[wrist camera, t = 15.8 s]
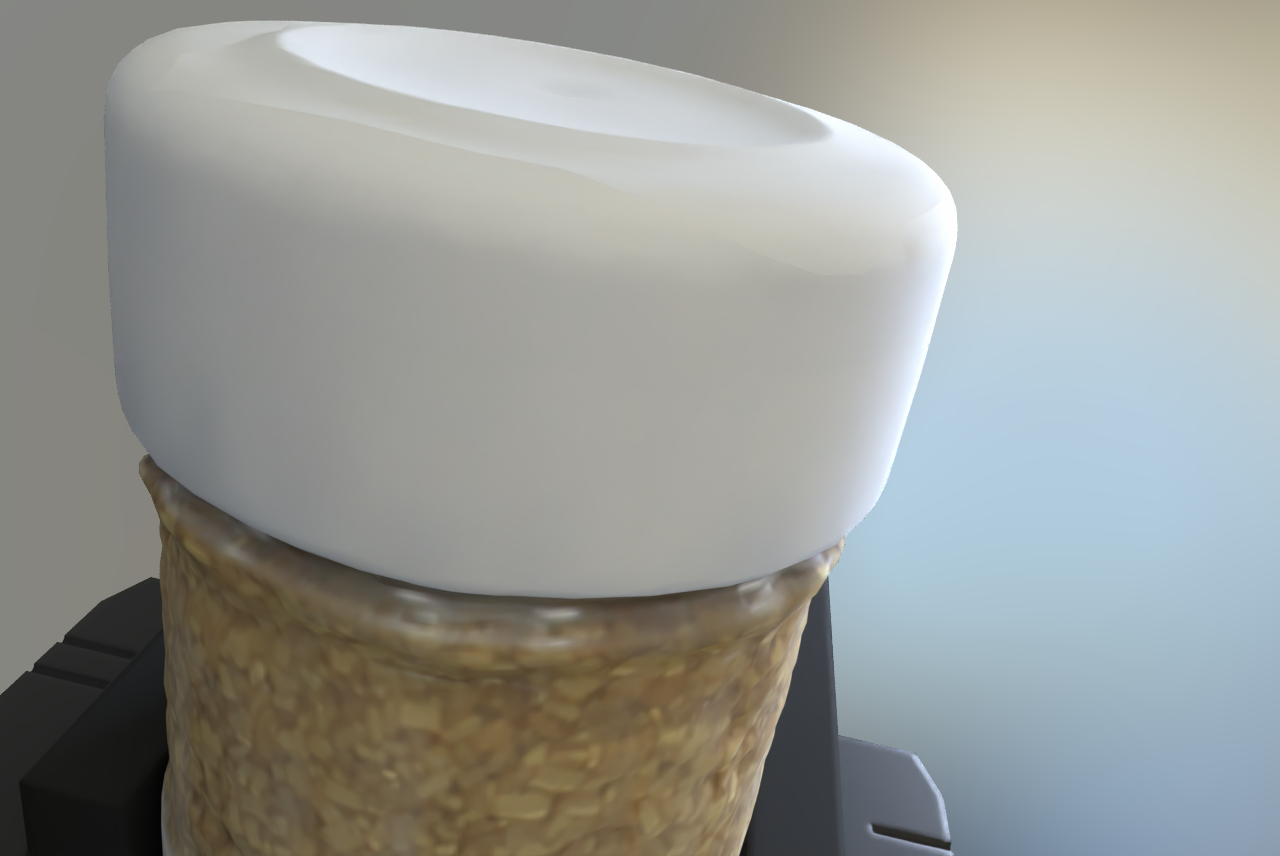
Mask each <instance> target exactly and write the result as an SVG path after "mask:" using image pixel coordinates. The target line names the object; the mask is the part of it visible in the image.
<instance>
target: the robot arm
mask: <svg viewBox="0 0 1280 856" xmlns="http://www.w3.org/2000/svg"><path fill="white" fill-rule="evenodd" d="M165 655H166V654H165V644H164V632H163V619H162V596H161V589H160V579H157V578H152V577H150V578H148V579H146V580H144V581H142V582H140V583H138V584H136V585H134V586H132V587H130V588H128V589H125V590H124V591H121V592H120V593H117V594H116V595H113V596H111V597H109V598H107V599H105V600H103V601H101V602H100V603H99V604H98V605H97V606H96V607H95V608H93V609H92V610H91V611H90V612H89V613H88V614H87V615H86V616H85V617H84V618H83V619H82V620H80V621H79V622H78V624H76V625H75V626H74V627H73V628H72V629H71V630H70V631H69V632H68V633H67V634H66V635H65V637H64V640H63V642H62V643H59V642H57V643H56V644H55V645H54V646H53V647H52V648H50V649H49V650H48V651H47V652H46V653H45V654H44V655H43V656H42V657H41V658H40V659H39V660H38V661H37V662H35V664H34V668H33V670H32V671H31V672H29V671H26V672H25V673H24V674H23V675H22V676H21V677H19V678H18V680H16V681H15V682H14V683H13V684H12V685H11V686H10V687H9V688H8V689H6V691H4V692H3V693H2V694H1V695H0V856H163V848H162V830H161V809H162V790H163V783H164V776H165V772H166V769H167V765H168V762H169V758H170V757H169V748H168V742H167V725H166V711H167V702H168V701H167V697H166V692H165V687H164V668H165ZM950 845H951V839H950V833H949V828H948V823H947V817H946V811H945V806H944V801H943V797H942V795H941V793H940V792H939V790H938V788H937V787H936V785H935V784H934V782H933V780H932V779H931V778H930V776H929V774H928V773H927V771H926V769H925V768H924V766H923V765H922V763H921V761H920V760H919V758H918V757H917V755H916V754H915V753H913V752H908V751H904V750H900V749H896V748H891V747H887V746H883V745H879V744H874V743H870V742H866V741H862V740H857V739H853V738H849V737H845V736H840V735H838V725H837V709H836V693H835V677H834V661H833V645H832V630H831V613H830V598H829V581H828V576H827V578H826V580H825V581H824V583H823V584H822V586H821V588H820V589H819V591H818V592H817V594H816V595H815V596H813V597H812V599H811V602H810V605H809V609H808V616H807V623H806V625H805V628H804V630H803V632H802V635H801V642H800V647H799V651H798V656H797V661H796V664H795V666H794V668H793V671H792V676H791V682H790V686H789V690H788V694H787V697H786V701H785V704H784V707H783V709H782V712H781V714H780V717H779V719H778V722H777V724H776V727H775V734H774V737H773V740H772V744H771V747H770V750H769V752H768V754H767V757H766V759H765V762H764V768H763V773H762V777H761V782H760V786H759V790H758V794H757V798H756V802H755V805H754V809H753V813H752V817H751V820H750V823H749V826H748V829H747V832H746V835H745V838H744V841H743V845H742V848H741V851H740V854H739V856H954V855H953V852H951V851H950Z"/></svg>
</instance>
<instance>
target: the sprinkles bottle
mask: <svg viewBox="0 0 1280 856" xmlns="http://www.w3.org/2000/svg"><path fill="white" fill-rule="evenodd" d="M104 137H105V169H106V170H105V171H106V202H107V203H106V204H107V238H108V271H109V287H110V301H111V317H112V331H113V348H114V363H115V376H116V383H117V389H118V395H119V399H120V402H121V406H122V410H123V412H124V414H125V416H126V419H127V421H128V423H129V425H130V427H131V429H132V431H133V432H134V434H135V435H136V437H137V438H138V439H139V441H140V442H141V443H142V445H143V446H144V448H145V449H146V450H147V452H148V453H149V454H147V455H145V456H144V457H143V459H142V460H141V461H140V463H139V474H140V476H141V478H142V480H143V482H144V484H145V485H146V487H147V489H148V491H149V493H150V494H151V497H152V500H153V502H154V504H155V508H156V510H157V513H158V515H159V518H160V537H161V541H162V545H163V546H162V553H161V561H160V589H161V596H162V619H163V632H164V644H165V654H166V655H165V668H164V687H165V692H166V697H167V701H168V702H167V711H166V725H167V742H168V748H169V757H170V758H169V762H168V765H167V769H166V772H165V776H164V783H163V790H162V809H161V830H162V848H163V856H739V854H740V851H741V848H742V845H743V841H744V838H745V835H746V832H747V829H748V826H749V823H750V820H751V817H752V813H753V809H754V805H755V802H756V798H757V794H758V790H759V786H760V782H761V777H762V773H763V768H764V762H765V759H766V757H767V754H768V752H769V750H770V747H771V744H772V740H773V737H774V734H775V727H776V724H777V722H778V719H779V717H780V714H781V712H782V709H783V707H784V704H785V701H786V697H787V694H788V690H789V686H790V682H791V676H792V671H793V668H794V666H795V664H796V661H797V656H798V651H799V647H800V642H801V635H802V632H803V630H804V628H805V625H806V623H807V616H808V609H809V605H810V602H811V599H812V597H813V596H815V595H816V594H817V592H818V591H819V589H820V588H821V586H822V584H823V583H824V581H825V580H826V578H827V576H828V574H829V572H830V571H831V570H832V569H833V568H834V566H835V565H836V564H837V563H838V562H839V559H840V556H841V554H842V551H843V548H844V545H845V544H844V543H845V536H846V535H847V534H848V533H849V532H850V531H851V530H852V529H853V528H854V527H855V526H857V525H858V524H859V523H860V522H861V521H862V520H863V519H864V518H865V517H866V516H867V514H868V513H869V512H870V511H871V509H872V508H873V507H874V505H875V504H876V503H877V501H878V499H879V496H880V494H881V492H882V490H883V488H884V486H885V484H886V482H887V480H888V477H889V474H890V470H891V467H892V464H893V460H894V457H895V454H896V451H897V448H898V444H899V441H900V438H901V435H902V432H903V429H904V425H905V422H906V419H907V416H908V413H909V409H910V406H911V403H912V400H913V396H914V393H915V390H916V387H917V383H918V380H919V377H920V374H921V371H922V368H923V364H924V360H925V357H926V353H927V350H928V346H929V342H930V338H931V335H932V331H933V328H934V324H935V321H936V317H937V313H938V309H939V306H940V303H941V299H942V295H943V292H944V288H945V284H946V281H947V277H948V274H949V270H950V266H951V263H952V259H953V255H954V252H955V245H956V238H957V216H956V207H955V204H954V202H953V199H952V196H951V194H950V191H949V189H948V188H947V187H946V185H945V184H944V183H943V181H942V180H941V179H940V178H939V176H938V175H937V174H936V173H935V172H934V171H933V170H932V169H931V168H929V167H928V166H927V165H926V164H925V163H924V162H923V161H922V160H920V159H919V158H917V157H916V156H914V155H912V154H910V153H909V152H908V151H906V150H904V149H903V148H901V147H900V146H898V145H897V144H895V143H892V142H890V141H888V140H886V139H884V138H882V137H879V136H877V135H875V134H873V133H871V132H869V131H867V130H864V129H862V128H860V127H858V126H856V125H854V124H851V123H848V122H845V121H843V120H840V119H837V118H834V117H832V116H829V115H826V114H823V113H820V112H818V111H815V110H812V109H809V108H806V107H802V106H799V105H796V104H793V103H789V102H786V101H783V100H780V99H776V98H773V97H769V96H766V95H763V94H759V93H756V92H753V91H749V90H747V89H743V88H740V87H737V86H733V85H729V84H725V83H722V82H719V81H715V80H712V79H708V78H705V77H701V76H698V75H695V74H690V73H686V72H681V71H677V70H673V69H669V68H664V67H660V66H656V65H652V64H647V63H643V62H638V61H634V60H630V59H625V58H620V57H615V56H609V55H605V54H599V53H594V52H589V51H583V50H578V49H572V48H567V47H561V46H555V45H549V44H544V43H538V42H532V41H525V40H519V39H512V38H506V37H499V36H492V35H484V34H475V33H467V32H460V31H450V30H441V29H431V28H420V27H410V26H394V25H373V24H359V23H333V22H307V21H240V22H224V23H216V24H207V25H200V26H193V27H186V28H178V29H175V30H172V31H169V32H166V33H164V34H161V35H158V36H155V37H153V38H150V39H148V40H146V41H145V42H144V43H142V44H140V45H139V46H137V47H136V48H134V49H133V50H132V51H131V52H130V53H129V54H127V55H126V56H125V57H124V58H123V59H122V60H121V61H120V62H119V63H118V65H117V67H116V69H115V71H114V73H113V75H112V77H111V79H110V81H109V83H108V86H107V95H106V105H105V115H104Z"/></svg>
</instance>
